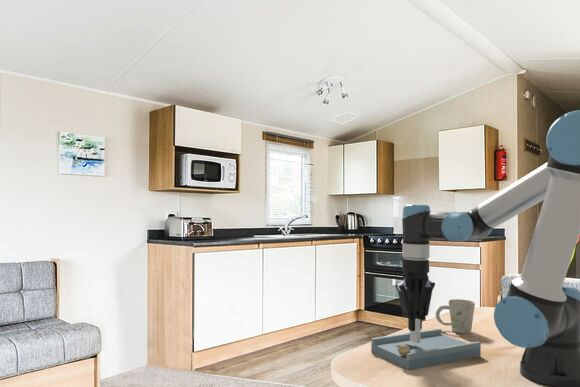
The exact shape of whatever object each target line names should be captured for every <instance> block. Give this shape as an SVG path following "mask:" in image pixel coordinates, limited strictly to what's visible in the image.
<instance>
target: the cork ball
mask: <svg viewBox="0 0 580 387" xmlns="http://www.w3.org/2000/svg"><path fill="white" fill-rule="evenodd" d="M398 352H399V354H400V355H401V356H403V357H406V353H410V352H411V350H410V347H409V346H408V345H406V344H401V345H400V346H399V348H398Z"/></svg>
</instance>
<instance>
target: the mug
mask: <svg viewBox="0 0 580 387" xmlns="http://www.w3.org/2000/svg"><path fill="white" fill-rule="evenodd" d="M475 304H476V302H474V301H472V300H467V299H458V298H457V299H455V298H454V299H449V300H448V305H439V307H438V308H437V309H436V311H435V319H436V321H437V322H438V323H440V324H441V325H443V326H451V331H452V332H454V333H457V334H461V335H462V334H463V335H465V334H466V335H469V334H471V333H472V329H473V327H472V326H473V321H474V320H473V319H474V314H475V306H476V305H475ZM442 310H449V315H450V316H449V317H450V322H444V321H443V320H442V319H441V316H440V315H441V314H440V313H441V312H442Z"/></svg>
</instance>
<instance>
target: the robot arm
mask: <svg viewBox="0 0 580 387" xmlns="http://www.w3.org/2000/svg"><path fill="white" fill-rule="evenodd" d="M545 138H546V139H545V145H546V147H547V148H546V149H547V150H548V153H549V156H548V159H547V162H545V163H544V164H542V165H541V166H539V167H537V168H536V169H534V170H532V171H530V172H529V173H528V174H526V175H525V176H523V177H521V178H520V179H518V180H517V181H514V182H513V183H512V184H510V185H509V186H507V187H506V188H503V189H502V190H501V191H499V192H497V193H496V194H494V195H493V196H491V197H489V198H488V199H486V200H485V201H483V202H481V203H480V204H478V205H477V206H475V207H474V208H472V209H470V210H469V211H465V212H464V211H463V212H462V211H459V212H458V211H452V212H450V211H445V212H444V211H441V212H439V211H438V212H436V211H431V208H430V206H429V205H428V204H405V205H404V206H403V207H402V219H401V221H402V247H401V248H402V249H401V250H402V251H401V252H402V254H401V256H402V257H403V258H402V260H401V265H402V266H401V270H402V273H403V276H402V278H401V280H402V281H400V282H399V283H396V284H395V286H394V287H395V289H396V290H397V294H398V298H399V305H400V309H401V314H402V315H401V316H402V317H404V318H407V319H408V321H407V322H408V323H407V324H408V325H407V326H408V328H407V329H408V331H409V333H410V341H412V342H414V343H420V331H422V330H423V320H424V321H425V319H426V317H427V316H428V315H429V310H430V306H431V300H432V295H433V290H434V289H435V286H436V283H435V282H434V281H432V280H430V279H429V275H428V273H430V260H429V258H430V240H432V239H433V240H443V241H451V242H466V241H468V240H469V239H475V240H476V239H477V240H478V239H482V238H486V237H487V236H489V235H490V234H491V232H492V230H493V229H495V228H496V227H499V226H501V225H502V224H505V223H506V222H507V221H509V220H511V219H513V218H514V217H516V216H518V215H520V214H521V213H524V212H525V211H527V210H528V209H530V208H532V207H534V206H536V205H537V204H538V203H541V202H542V206H541V209H540V211H539V215H538V219H537V221H536V225H535V228H534V231H533V235H532V238H531V240H530V244H529V247H528V251H527V254H526V257H525V261H524V264H523V267H522V270H521V273H520V275H519V276H516V277H514V278H512V279H511V282H510V285H509V288H508V292H507V295H506V297H503V298H502V299H501V300H500V301H499V302H497V303H496V306H495V308H494V310H493V320H494V324H495V326H496V328H497V329H498V332H499V334H500V335H501V336H502V338H504V340H506V341H507V342H508V343H510V344H511V345H513V346H516V347H519V348H522V349H523V348H525V349H524V352H523V355H522V356H521V360H520V362H519V372H520V374H521V375H522V376H523V377H525V379H528V380H530V381H532V382H536V383H538V384H543V385H545V386H550V387H580V290H579V289H578V288H576V287H573V286H565V285H564V282H565V279H566V277H567V273H568V270H569V267H570V264H571V261H572V258H573V255H574V251H575V249H576V246H577V242H578V240H579V236H580V109H578V110H572V111H570V112H566V113H565V114H563V115H562V116H559V118H557V119H556V120H554V122H553V123H552V124H551V126H550V127H549V129H548V131H547V134H546V137H545Z"/></svg>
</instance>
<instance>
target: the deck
mask: <svg viewBox="0 0 580 387" xmlns="http://www.w3.org/2000/svg"><path fill="white" fill-rule="evenodd" d="M442 330H443V329H442V328H435V329H426V330H420V343H414V342H412V341H410V332H405V333H399V334H392V335H385V336H377V337H372V338H371V342H370V344H371V345H370V346H371V351H370V352H371V353H372V354H373V355H374V354H375V355H376V356H379V357H381V358H382V359H385V360H387V361H389V362H391V363H392V364H395V365H398V366H400V367H402V368H404V369H406V370H407V371H412V370H417V369H418V370H419V369H423V368H427V367H433V366H437V365H443V364H450V363H453V362H458V361H459V362H460V361H465V360H470V359H476V358H480V357H481V355H482V354H481V353H482V352H481V348H482V347H481V345H482V344H481V343H482V342H480V341H472V342H466V341H462V340H459V339H457V338H454V337H451V336H448V335H445V334H443V333H442ZM401 344H406V345H408V346H409V347H410V350H411V352H410V353H406V357H403V356H401V355H400V354H399V352H398V348H399V346H400V345H401Z"/></svg>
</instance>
